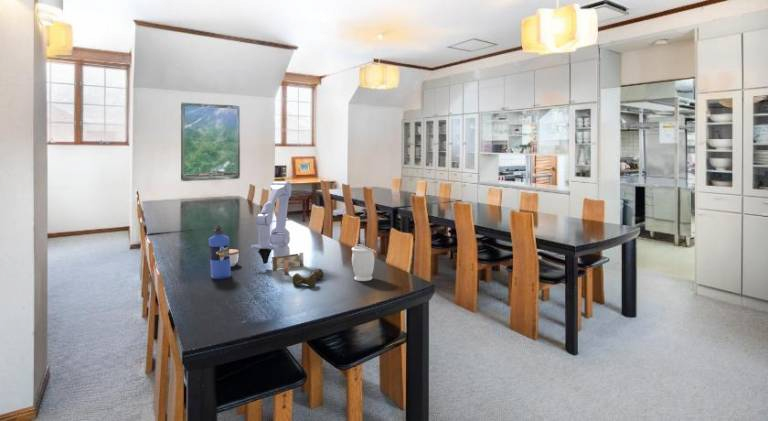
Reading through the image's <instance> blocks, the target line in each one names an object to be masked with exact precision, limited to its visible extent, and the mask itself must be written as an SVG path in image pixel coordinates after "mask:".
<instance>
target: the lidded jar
mask: <svg viewBox="0 0 768 421" xmlns="http://www.w3.org/2000/svg"><path fill="white" fill-rule="evenodd" d="M239 253H240V251H239V249H236V248H235V249H234V248H233V249H232V248H229V256H230V268H232V267H234V266H236V264H237V263H238V261H239Z"/></svg>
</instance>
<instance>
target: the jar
mask: <svg viewBox="0 0 768 421" xmlns="http://www.w3.org/2000/svg"><path fill="white" fill-rule="evenodd" d="M351 251H352V254H351V264H352V271H353V274H354V280H355V281H357V282H358V281H359V282H368V281H371V280H372V279H373V276H372V275H373V274H374V268H375V254H374V253H375V252H374V251H373V250H370V249H367V248H365V247H364V246H362V245H357V246H353V247H351Z"/></svg>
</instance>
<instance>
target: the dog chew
mask: <svg viewBox="0 0 768 421" xmlns="http://www.w3.org/2000/svg"><path fill="white" fill-rule="evenodd" d="M323 277H324V271H323V269H321V268H315V269H314V270H313V271H311V272H310V273H309V275H307V276H303V275H302V274H299V273H298V272H297V273H295V274H293V276H292V280H291V281H292V285H293V286H295V287H296V286H299V285H307V286H308V287H309V288H311V287H312V288H314V287H315V286H316V284H317V280H319V279H323Z"/></svg>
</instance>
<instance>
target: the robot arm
mask: <svg viewBox="0 0 768 421" xmlns="http://www.w3.org/2000/svg"><path fill="white" fill-rule="evenodd" d="M292 189H293V187H292V183H291V182H290V181H272V182H271V184H270V192H271V193H270V194H269V198H268V201H267V202H265V203H264V204H263V207H262V209H261V211H260V213H259V214H257V215H256V217H255V219H254V220H255V224H256V227H257V231H258V232H257V234H258V244H252V245H250V246H251V250H258V251H257V252H258V254H259V255H260V257H261V260H262V264H263V265H266V264H268V261H269V257H270V255H271V252H272V251H273V252H272V253H273V257H276V256H284V255H291V254H290V247H289V244H290V241H291V237H290V231H289V230H288V229H287V228H286V225H287V216H288V206H289V199H290V198H291V197H292ZM277 200H278V207H277V214H276V215H277V216H276V222H275V227H274V228H273V229H272V230H271V228H270V226H271V224H272V221H273V214H274V211H275V209H276V206H275V204H276V202H277ZM270 263H272V260H271V261H270Z"/></svg>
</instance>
